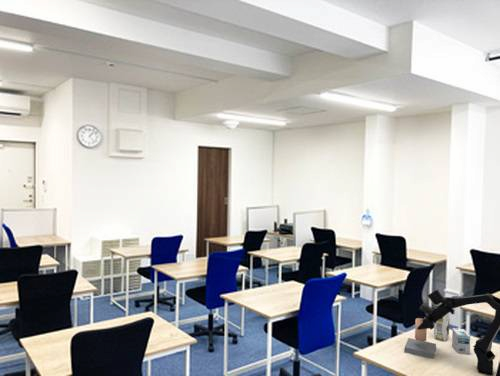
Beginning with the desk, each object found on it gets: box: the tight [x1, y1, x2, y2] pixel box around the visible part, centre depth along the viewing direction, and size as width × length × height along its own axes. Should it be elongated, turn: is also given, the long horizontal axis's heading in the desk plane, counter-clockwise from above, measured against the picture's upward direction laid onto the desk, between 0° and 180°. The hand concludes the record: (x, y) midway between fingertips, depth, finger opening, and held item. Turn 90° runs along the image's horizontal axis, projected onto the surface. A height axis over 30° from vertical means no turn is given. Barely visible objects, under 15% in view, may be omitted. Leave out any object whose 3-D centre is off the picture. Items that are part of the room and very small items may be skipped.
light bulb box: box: [451, 327, 471, 355], centre depth 224 cm, size 11×7×11 cm, turn 168°
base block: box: [404, 337, 437, 360], centre depth 222 cm, size 15×15×3 cm
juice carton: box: [433, 313, 451, 342], centre depth 240 cm, size 8×9×19 cm
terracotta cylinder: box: [414, 317, 428, 342], centre depth 221 cm, size 6×6×11 cm
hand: (418, 327), depth 222 cm, fingers closed on terracotta cylinder, 6 cm apart
